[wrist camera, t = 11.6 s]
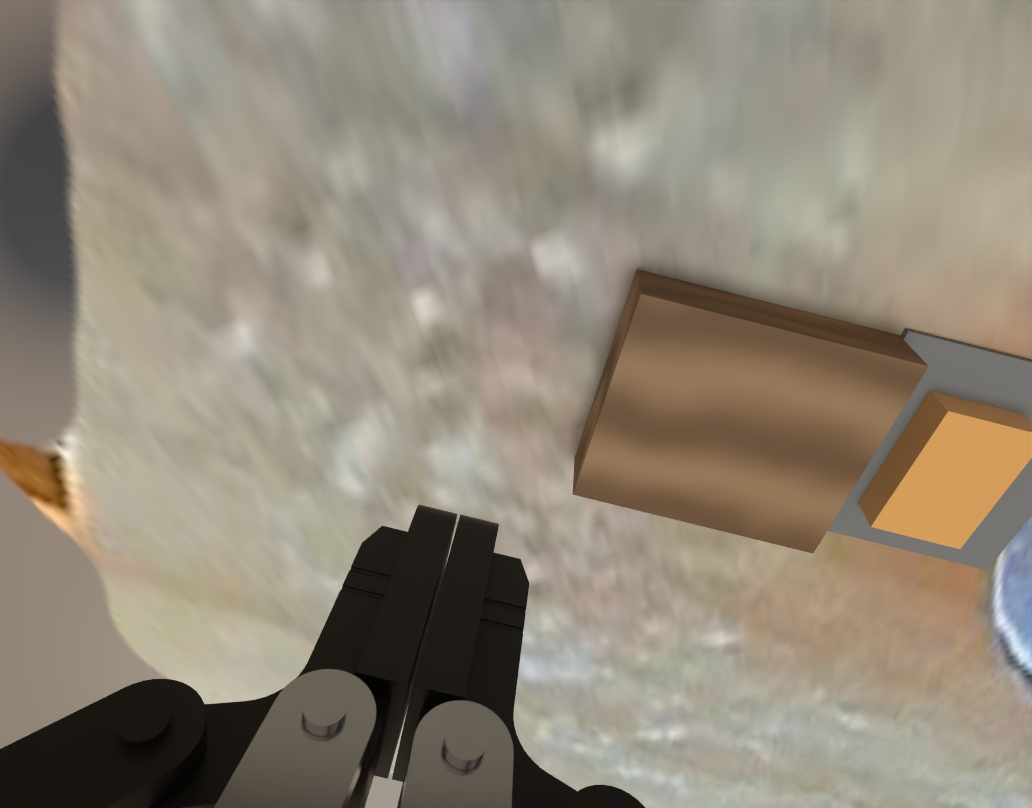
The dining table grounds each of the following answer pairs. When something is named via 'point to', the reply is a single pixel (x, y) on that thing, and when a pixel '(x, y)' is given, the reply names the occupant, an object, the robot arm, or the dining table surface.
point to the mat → (972, 379)
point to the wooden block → (739, 411)
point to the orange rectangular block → (947, 470)
